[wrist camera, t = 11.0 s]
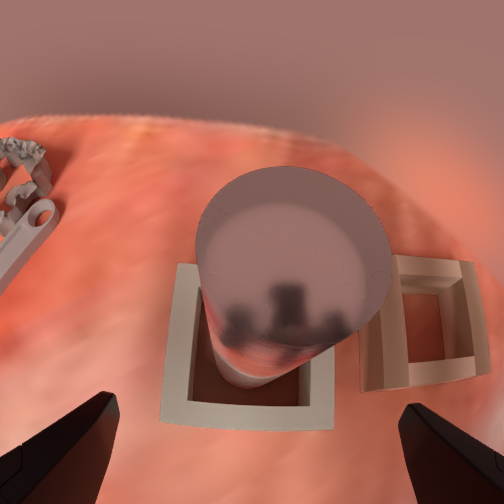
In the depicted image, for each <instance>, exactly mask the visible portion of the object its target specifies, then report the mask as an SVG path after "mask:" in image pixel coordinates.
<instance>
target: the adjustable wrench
mask: <svg viewBox="0 0 504 504" xmlns="http://www.w3.org/2000/svg"><path fill="white" fill-rule="evenodd" d="M45 211H52V214H51V216H50V218H49V219H48V221H46V222H45V223H44V224H43V225H41V226H38V227H36V226H35V223H36V220H37V218H38V217H39V216H40V215H41V214H42V213H43V212H45ZM59 220H60V213H59V211H58V209H57V207H56V206H55V204H54V203H53V202H52V201H51V200H49V199H42V200H39V201H38V202H36V203H35V204H33V205H32V206H31V207H30V209H29V210H28V211H27V212H26V213H25V214H24V215H23V216H22V218H21V219H20V220H19V221H18V222H17V223H16V225H15V226H14V227H13V228H12V229H11V231H10V232H9V233H8V234H7V235H6V237H5V238H4V239H3V240H2V242H1V243H0V296H1V295H2V293H3V292H4V291H5V289H6V288H7V287H8V285H9V284H10V283H11V281H12V280H13V279H14V277H15V276H16V275H17V274H18V272H19V271H20V270H21V269H22V267H23V266H24V265H25V264H26V262H27V261H28V260H29V259H30V257H31V256H32V255H33V254H34V253H35V251H36V250H37V249H38V248H39V247H40V246H41V244H42V243H43V242H44V241H45V240H46V239H47V237H48V236H49V235H50V234H51V233H52V232H53V231H54V230H55V228H56V227H57V225H58V223H59Z"/></svg>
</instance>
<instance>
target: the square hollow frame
mask: <svg viewBox="0 0 504 504" xmlns="http://www.w3.org/2000/svg"><path fill="white" fill-rule="evenodd" d="M201 303H204V300H203V295H202V289H201V283H200V277H199V271H198V265H197V264H188V263H178V266H177V272H176V279H175V285H174V292H173V299H172V306H171V314H170V321H169V329H168V337H167V345H166V354H165V363H164V373H163V383H162V394H161V406H160V419H159V422H163V423H170V424H178V425H186V426H194V427H204V428H215V429H229V430H247V431H315V430H334V404H335V355H334V346H332V347H331V348H329V349H327V350H326V351H324V352H322V353H321V354H319V355H317V356H316V357H314V358H312V359H310V360H309V361H307V362H305V363H303V364H302V365H300V366H299V392H298V406H250V405H232V404H218V403H207V402H197V401H193V389H194V376H195V364H196V353H197V342H198V332H199V322H200V312H201Z"/></svg>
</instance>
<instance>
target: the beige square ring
mask: <svg viewBox="0 0 504 504" xmlns="http://www.w3.org/2000/svg"><path fill="white" fill-rule="evenodd" d="M402 294H418V295H437V296H438V303H439V309H440V316H441V324H442V333H443V342H444V353H445V360H438V361H428V362H417V363H408V349H407V336H406V325H405V316H404V307H403V298H402ZM358 333H359V358H360V393H363V392H376V391H388V390H398V389H407V388H415V387H423V386H430V385H437V384H443V383H449V382H455V381H461V380H465V379H469V378H473V377H477V376H480V375H484V374H487V373H491V362H490V352H489V343H488V335H487V328H486V321H485V315H484V309H483V303H482V298H481V293H480V288H479V283H478V278H477V274H476V270H475V265H474V262H468V261H458V260H448V259H438V258H427V257H417V256H406V255H396V254H392V278H391V283H390V287H389V290H388V293H387V296H386V298H385V300H384V302H383V304H382V305H381V307H380V309H379V310H378V312H377V313H376V314H375V315H374V316H373V318H372V319H371V320H370V321H369V322H368V323H367V324H365V325H364V326H363V327H362V328H361V329H359V330H358Z"/></svg>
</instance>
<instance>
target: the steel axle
mask: <svg viewBox="0 0 504 504" xmlns="http://www.w3.org/2000/svg"><path fill="white" fill-rule="evenodd" d="M196 258H197V265H198V271H199V277H200V283H201V289H202V295H203V300H204V306H205V311H206V317H207V322H208V327H209V332H210V337H211V343H212V348H213V352H214V357H215V362H216V366H217V369H218V371H219V372H220V374H221V375H222V377H223V378H224V379H225V380H226V381H228V382H229V383H231V384H232V385H234V386H237V387H240V388H247V389H250V388H257V387H260V386H263V385H265V384H267V383H268V382H270V381H272V380H274V379H276V378H278V377H280V376H282V375H284V374H285V373H287V372H289V371H291V370H293V369H294V368H296V367H298V366H300V365H302V364H303V363H305V362H307V361H309V360H310V359H312V358H314V357H316V356H317V355H319V354H321V353H322V352H324V351H326V350H327V349H329V348H331V347H332V346H334V345H336V344H337V343H339V342H341V341H342V340H344V339H345V338H347V337H349V336H350V335H352V334H353V333H355V332H356V331H358V330H359V329H361V328H362V327H363V326H364V325H365V324H367V323H368V322H369V321H370V320H371V319H372V318H373V316H374V315H375V314H376V313H377V312H378V310H379V309H380V307H381V305H382V304H383V302H384V300H385V298H386V296H387V293H388V290H389V287H390V283H391V278H392V253H391V247H390V243H389V240H388V237H387V234H386V232H385V229H384V227H383V225H382V223H381V222H380V220H379V218H378V216H377V215H376V214H375V212H374V211H373V209H372V208H371V207H370V206H369V205H368V204H367V202H366V201H365V200H364V199H363V198H362V197H361V196H359V195H358V194H357V193H356V192H355V191H354V190H352V189H351V188H349V187H348V186H347V185H345V184H344V183H342V182H340V181H338V180H337V179H335V178H332V177H330V176H328V175H326V174H323V173H320V172H317V171H314V170H310V169H306V168H299V167H289V166H279V167H269V168H263V169H258V170H255V171H252V172H249V173H246V174H244V175H242V176H240V177H238V178H236V179H234V180H233V181H231V182H229V183H228V184H227V185H226V186H224V187H223V188H222V189H221V190H220V191H219V192H218V193H217V194H216V195H215V196H214V197H213V198H212V200H211V201H210V202H209V204H208V205H207V207H206V209H205V211H204V213H203V214H202V217H201V219H200V222H199V225H198V229H197V235H196Z"/></svg>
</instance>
